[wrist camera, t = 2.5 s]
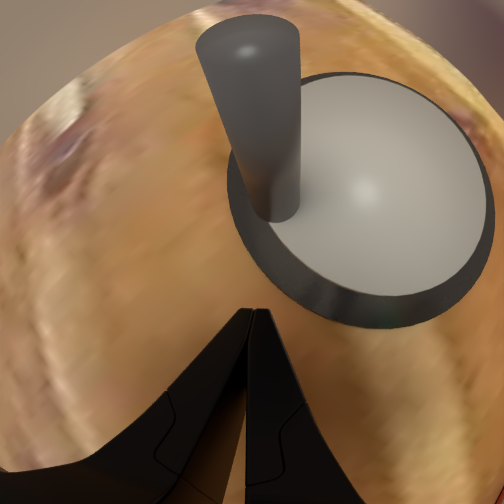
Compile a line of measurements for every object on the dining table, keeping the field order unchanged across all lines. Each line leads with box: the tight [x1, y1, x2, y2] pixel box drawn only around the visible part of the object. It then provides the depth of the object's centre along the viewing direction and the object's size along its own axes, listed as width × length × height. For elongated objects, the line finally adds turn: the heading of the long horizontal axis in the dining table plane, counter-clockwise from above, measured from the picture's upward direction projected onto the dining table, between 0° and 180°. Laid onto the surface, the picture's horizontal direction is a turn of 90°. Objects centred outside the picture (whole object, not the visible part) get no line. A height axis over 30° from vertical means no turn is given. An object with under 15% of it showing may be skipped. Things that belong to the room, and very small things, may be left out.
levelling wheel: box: [196, 14, 486, 297], centre depth 12 cm, size 18×18×13 cm
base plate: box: [227, 72, 495, 329], centre depth 19 cm, size 22×22×2 cm
